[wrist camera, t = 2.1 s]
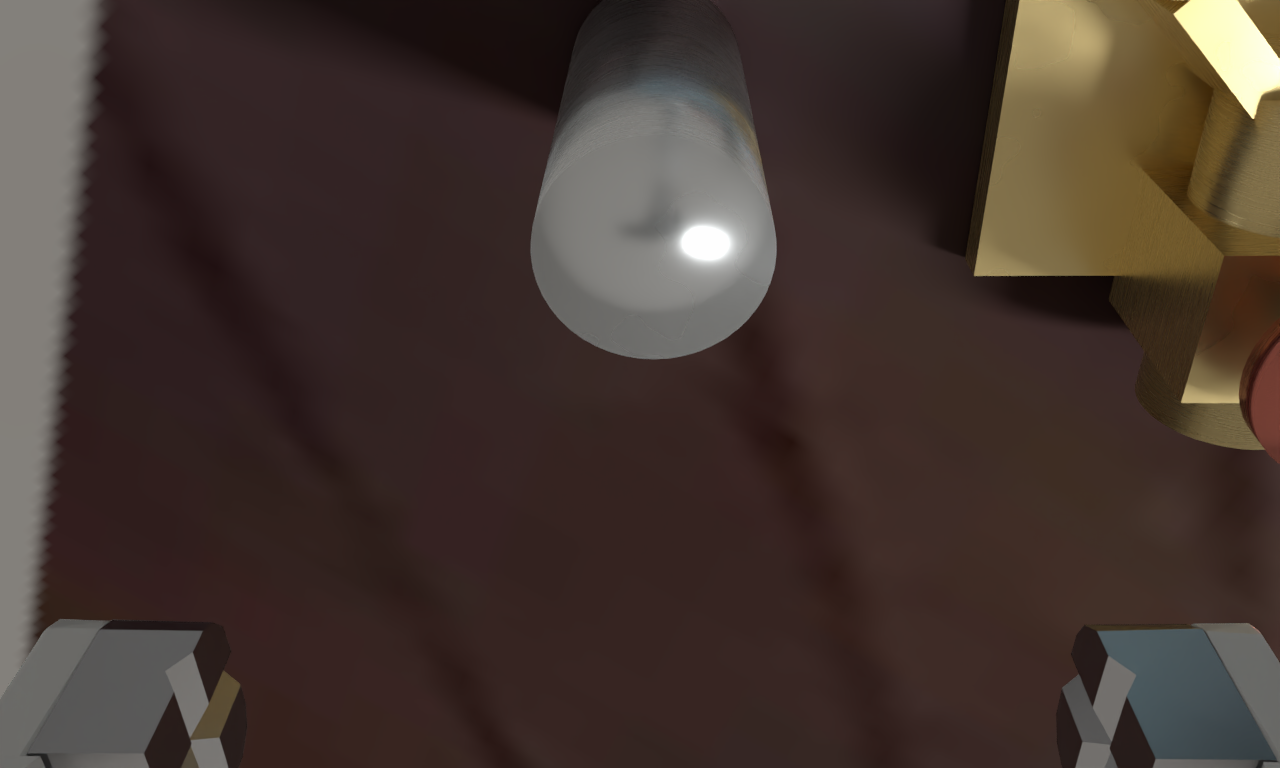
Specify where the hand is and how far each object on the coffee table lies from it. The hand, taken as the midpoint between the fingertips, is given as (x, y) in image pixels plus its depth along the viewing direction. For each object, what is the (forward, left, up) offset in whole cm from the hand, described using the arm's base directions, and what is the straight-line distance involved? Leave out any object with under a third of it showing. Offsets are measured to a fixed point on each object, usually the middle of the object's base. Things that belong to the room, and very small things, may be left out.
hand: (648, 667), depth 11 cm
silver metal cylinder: (0, 0, -19) cm, 19 cm away
